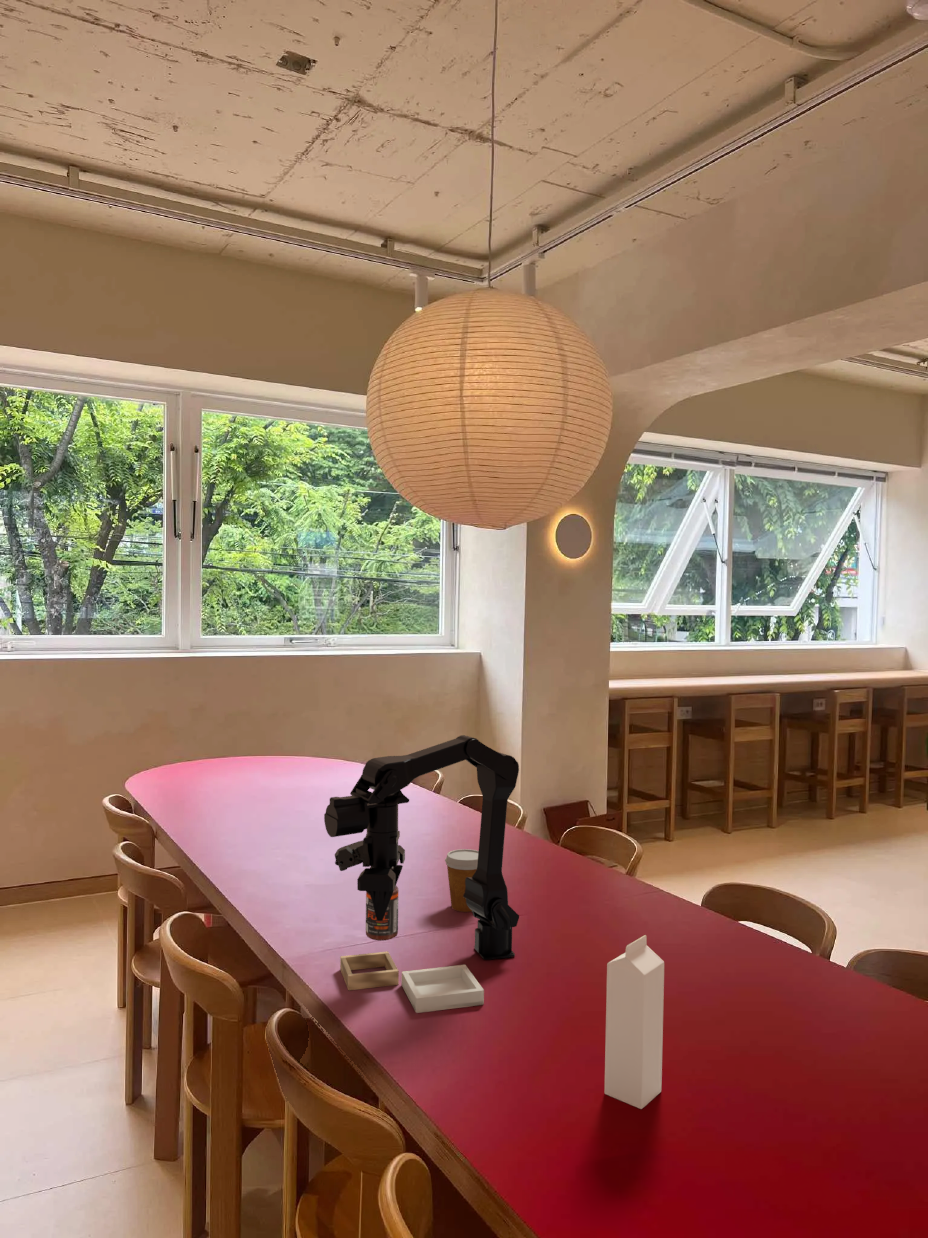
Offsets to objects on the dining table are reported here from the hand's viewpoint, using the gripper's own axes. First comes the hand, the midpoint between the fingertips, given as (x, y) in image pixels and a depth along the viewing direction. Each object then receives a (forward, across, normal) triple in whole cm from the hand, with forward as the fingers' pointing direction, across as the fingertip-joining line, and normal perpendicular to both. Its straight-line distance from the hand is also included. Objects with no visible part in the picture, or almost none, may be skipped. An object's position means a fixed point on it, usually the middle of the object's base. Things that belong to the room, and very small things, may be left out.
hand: (382, 913), depth 162 cm
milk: (+13, +34, +41) cm, 54 cm away
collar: (+12, -1, -3) cm, 13 cm away
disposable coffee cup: (+13, -39, +13) cm, 43 cm away
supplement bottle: (+4, 0, 0) cm, 4 cm away
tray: (+12, +5, +11) cm, 17 cm away
